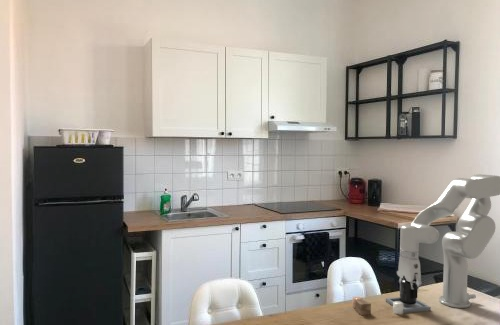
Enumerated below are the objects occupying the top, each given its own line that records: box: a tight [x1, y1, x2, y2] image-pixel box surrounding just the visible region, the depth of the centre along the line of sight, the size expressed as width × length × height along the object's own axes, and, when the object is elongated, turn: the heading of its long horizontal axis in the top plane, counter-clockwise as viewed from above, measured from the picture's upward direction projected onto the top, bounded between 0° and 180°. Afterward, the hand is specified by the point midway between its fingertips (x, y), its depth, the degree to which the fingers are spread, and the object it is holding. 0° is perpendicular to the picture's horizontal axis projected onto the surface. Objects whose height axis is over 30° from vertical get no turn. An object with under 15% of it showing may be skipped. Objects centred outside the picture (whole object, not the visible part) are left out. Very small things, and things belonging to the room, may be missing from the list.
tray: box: [385, 296, 432, 314], centre depth 176 cm, size 13×13×2 cm
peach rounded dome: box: [352, 296, 364, 310], centre depth 173 cm, size 4×4×4 cm
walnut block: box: [354, 299, 372, 316], centre depth 167 cm, size 4×4×4 cm
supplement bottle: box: [399, 276, 418, 305], centre depth 175 cm, size 7×7×12 cm
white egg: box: [392, 301, 404, 315], centre depth 168 cm, size 4×4×4 cm
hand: (408, 294), depth 176 cm, fingers closed on supplement bottle, 6 cm apart
